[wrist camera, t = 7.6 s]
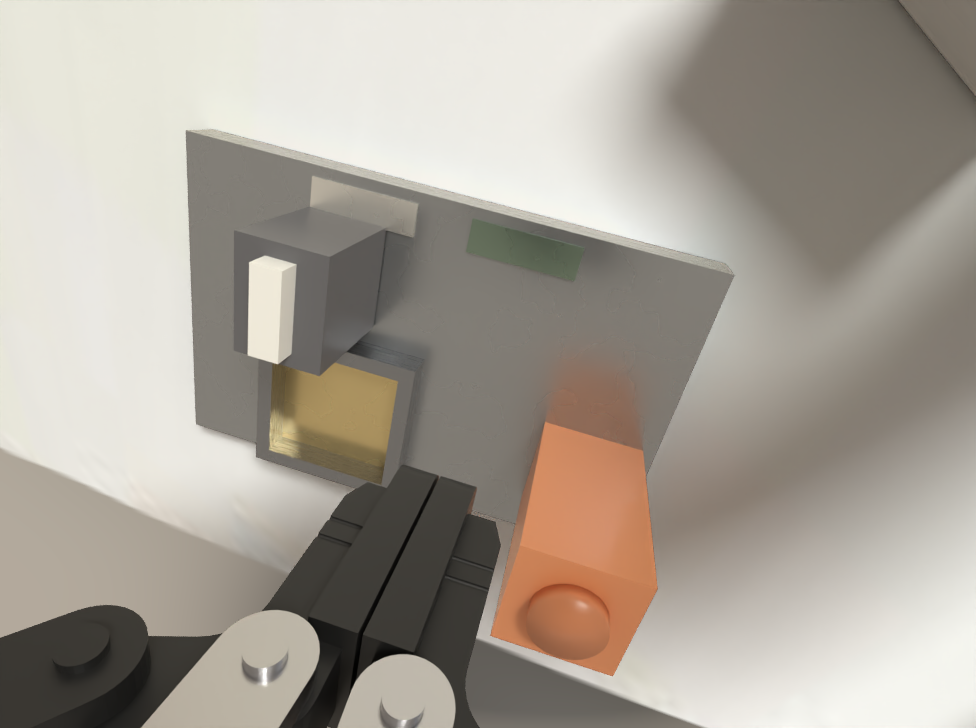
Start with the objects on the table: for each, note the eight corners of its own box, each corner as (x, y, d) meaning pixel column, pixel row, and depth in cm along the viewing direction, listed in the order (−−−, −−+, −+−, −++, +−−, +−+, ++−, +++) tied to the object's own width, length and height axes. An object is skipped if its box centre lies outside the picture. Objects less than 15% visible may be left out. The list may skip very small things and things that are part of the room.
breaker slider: (386, 227, 20) (316, 263, 15) (373, 327, 21) (307, 387, 17) (309, 206, 20) (216, 235, 15) (302, 306, 22) (217, 360, 17)
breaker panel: (725, 263, 19) (742, 285, 17) (611, 530, 25) (611, 574, 23) (212, 129, 21) (161, 131, 19) (216, 408, 27) (178, 437, 24)
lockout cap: (643, 450, 21) (659, 606, 15) (611, 525, 23) (612, 694, 16) (545, 421, 22) (516, 561, 15) (521, 497, 24) (486, 652, 17)
